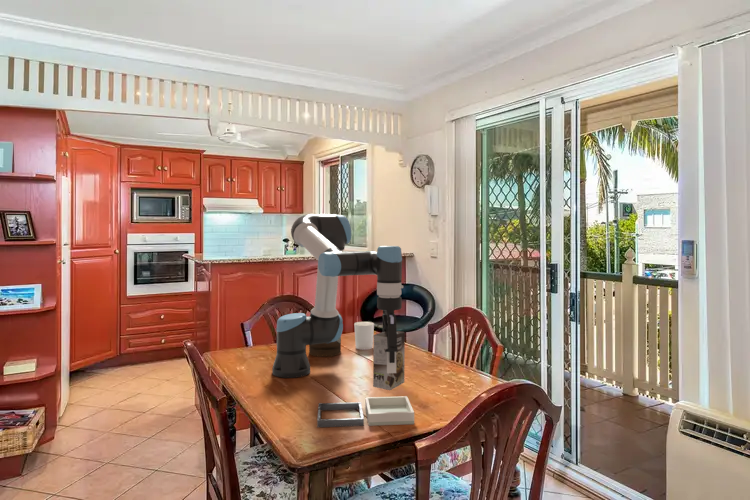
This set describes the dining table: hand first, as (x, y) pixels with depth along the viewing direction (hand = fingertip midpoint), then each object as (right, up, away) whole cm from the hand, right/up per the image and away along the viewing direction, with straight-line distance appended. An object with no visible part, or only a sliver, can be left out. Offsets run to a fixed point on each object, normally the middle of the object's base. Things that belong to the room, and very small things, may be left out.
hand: (389, 367), depth 142 cm
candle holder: (-10, -12, +85) cm, 87 cm away
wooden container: (-28, -12, +75) cm, 81 cm away
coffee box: (0, -6, 0) cm, 6 cm away
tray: (0, -15, +1) cm, 15 cm away
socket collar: (-15, -15, -1) cm, 21 cm away
